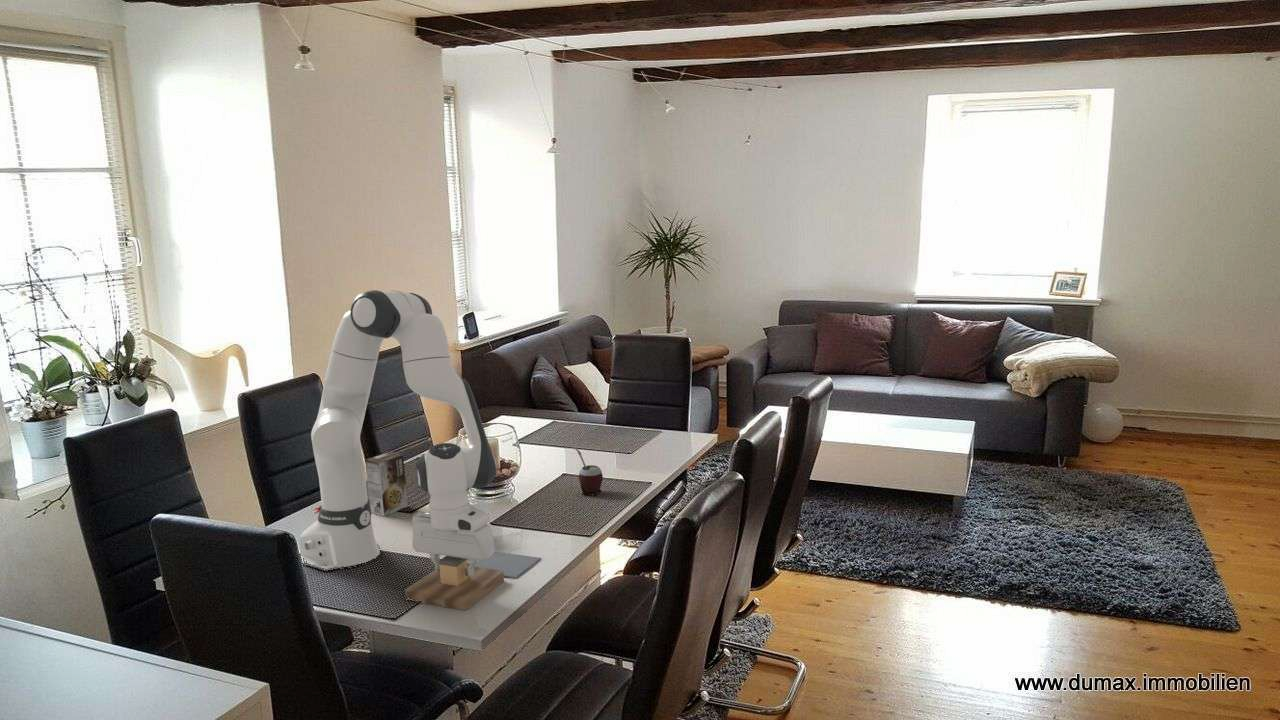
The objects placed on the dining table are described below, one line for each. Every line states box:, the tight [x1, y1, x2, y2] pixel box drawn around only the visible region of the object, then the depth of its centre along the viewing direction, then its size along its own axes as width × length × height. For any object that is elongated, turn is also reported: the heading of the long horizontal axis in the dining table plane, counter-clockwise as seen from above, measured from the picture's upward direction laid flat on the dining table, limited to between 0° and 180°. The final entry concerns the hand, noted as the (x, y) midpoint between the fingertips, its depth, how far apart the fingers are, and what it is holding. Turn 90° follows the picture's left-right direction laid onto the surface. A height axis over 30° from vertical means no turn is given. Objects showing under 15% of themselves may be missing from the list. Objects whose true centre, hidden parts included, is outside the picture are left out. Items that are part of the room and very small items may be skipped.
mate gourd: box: [570, 444, 604, 497], centre depth 274 cm, size 8×8×15 cm
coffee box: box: [364, 451, 409, 517], centre depth 267 cm, size 9×6×16 cm
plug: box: [439, 556, 469, 586], centre depth 212 cm, size 4×4×8 cm
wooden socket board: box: [404, 567, 505, 612], centre depth 212 cm, size 16×16×2 cm
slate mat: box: [474, 551, 542, 580], centre depth 226 cm, size 14×12×1 cm
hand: (455, 573), depth 212 cm, fingers open, 6 cm apart
